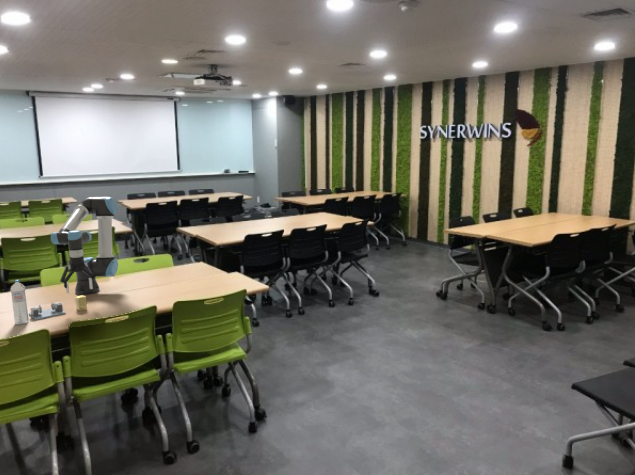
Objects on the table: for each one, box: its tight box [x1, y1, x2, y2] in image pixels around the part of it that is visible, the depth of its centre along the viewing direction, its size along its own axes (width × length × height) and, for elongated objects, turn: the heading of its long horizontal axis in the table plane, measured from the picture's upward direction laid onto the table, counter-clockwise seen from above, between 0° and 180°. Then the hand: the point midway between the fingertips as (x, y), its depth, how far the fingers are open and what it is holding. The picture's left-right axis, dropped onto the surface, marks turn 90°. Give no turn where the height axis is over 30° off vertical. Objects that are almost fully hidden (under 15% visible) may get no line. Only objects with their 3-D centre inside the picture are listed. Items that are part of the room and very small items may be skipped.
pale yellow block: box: [75, 294, 88, 312], centre depth 307 cm, size 4×4×8 cm
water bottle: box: [10, 279, 29, 326], centre depth 282 cm, size 7×7×25 cm
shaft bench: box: [28, 301, 67, 321], centre depth 298 cm, size 14×16×6 cm
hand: (79, 290), depth 305 cm, fingers open, 13 cm apart
